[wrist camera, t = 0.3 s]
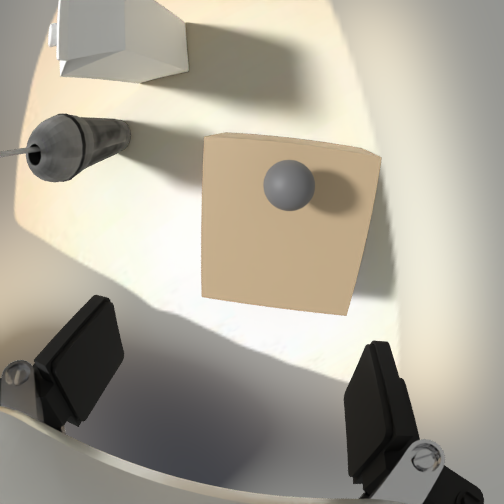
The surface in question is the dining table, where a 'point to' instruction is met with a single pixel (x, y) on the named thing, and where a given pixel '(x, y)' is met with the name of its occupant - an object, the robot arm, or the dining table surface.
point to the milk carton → (118, 40)
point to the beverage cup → (71, 145)
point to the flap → (284, 223)
